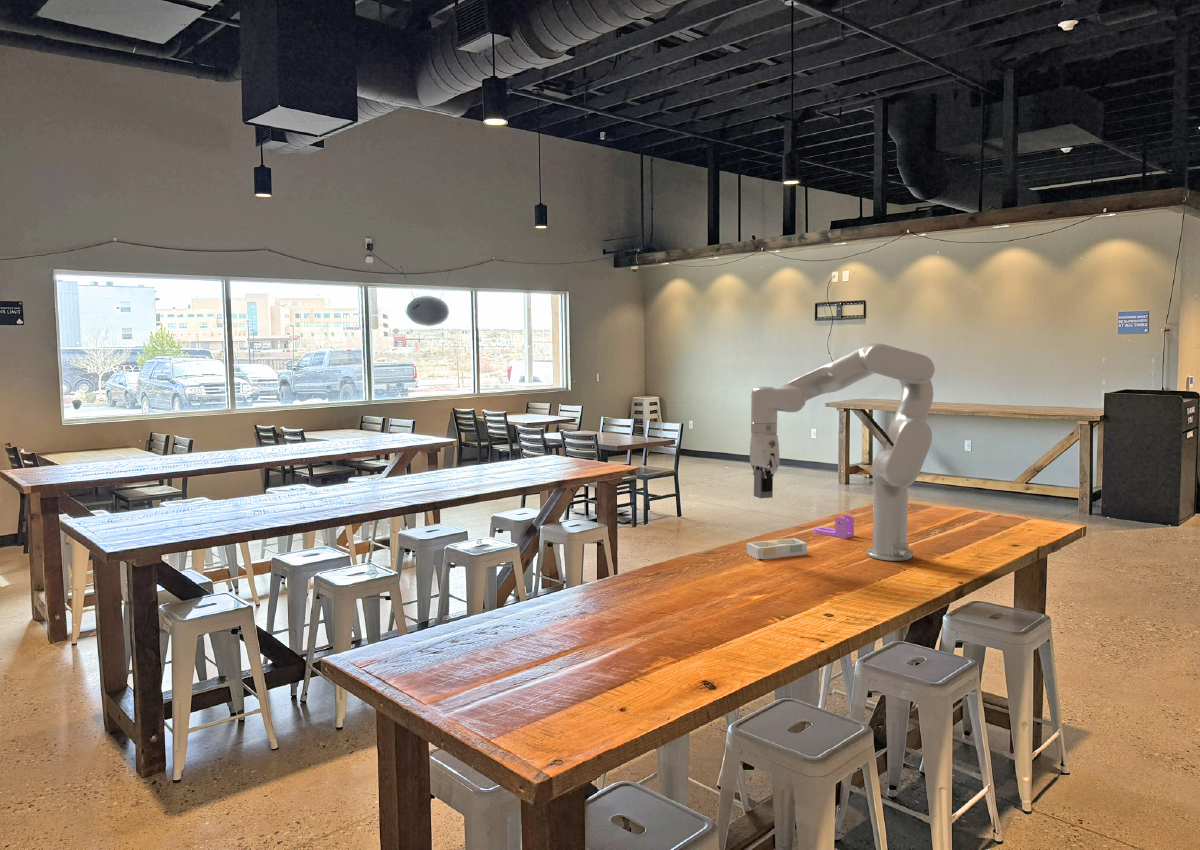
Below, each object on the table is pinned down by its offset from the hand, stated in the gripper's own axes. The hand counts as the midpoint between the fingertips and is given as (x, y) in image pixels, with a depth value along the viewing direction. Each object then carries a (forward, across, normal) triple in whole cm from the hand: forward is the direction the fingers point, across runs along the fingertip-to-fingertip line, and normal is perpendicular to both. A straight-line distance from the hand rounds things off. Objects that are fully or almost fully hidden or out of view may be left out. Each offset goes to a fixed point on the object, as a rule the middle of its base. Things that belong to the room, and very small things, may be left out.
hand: (763, 489), depth 242 cm
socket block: (+20, 0, -5) cm, 21 cm away
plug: (+2, 0, 0) cm, 2 cm away
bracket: (+20, +16, -35) cm, 44 cm away
